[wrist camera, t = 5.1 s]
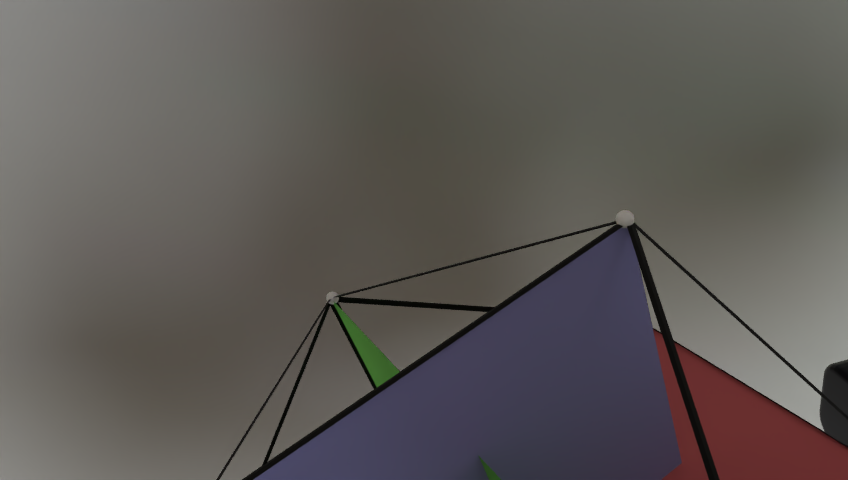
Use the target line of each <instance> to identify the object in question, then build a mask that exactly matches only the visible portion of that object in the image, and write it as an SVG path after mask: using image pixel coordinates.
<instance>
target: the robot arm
mask: <svg viewBox="0 0 848 480" xmlns="http://www.w3.org/2000/svg"><path fill="white" fill-rule="evenodd" d="M822 393H823V394H824V395H825V396H826V397H827V398H828V399H829V400H830V401H832V402H833V403H834V404H835V405H836V406H837V407H838V408H839V409H840V410H841V411H843V412H844V413H845V414H846V415H847V416H848V360H844V361H840V362H837V363H833V364H831V365H829V366H828V367H827V368H826V370H825V372H824V378H823V387H822ZM820 420H821V423H822V426H823V429H824V431H825V433H827V434H829V435H830V436H832V437H833V438H835V439H837V440H838V441H840V442H842V443H843V444H845V445H847V446H848V420H847V419H846V418H845V417H844V416H843V415H842V414H841V413H839V412H838V411H837V410H836V409H835V408H834V407H833V406H832V405H831V404H830V403H828V402H827V401H826V400H825V399H824V398H823V397H822V396H821V404H820Z"/></svg>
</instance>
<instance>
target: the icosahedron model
mask: <svg viewBox="0 0 848 480" xmlns="http://www.w3.org/2000/svg"><path fill="white" fill-rule="evenodd" d="M634 220H635V219H634V215H633V213H632V212H630V211H628V210H622V211H620V212H619V213H618V214H617V215H616V221H615V222H611V223H607V224H603V225H600V226H596V227H592V228H588V229H585V230H581V231H577V232H574V233H570V234H566V235H562V236H559V237H555V238H551V239H547V240H544V241H540V242H536V243H532V244H529V245H525V246H521V247H517V248H514V249H510V250H506V251H502V252H499V253H495V254H491V255H487V256H484V257H480V258H476V259H472V260H469V261H465V262H461V263H457V264H454V265H450V266H446V267H442V268H439V269H435V270H431V271H428V272H424V273H420V274H416V275H413V276H409V277H405V278H401V279H398V280H394V281H390V282H386V283H383V284H379V285H375V286H371V287H368V288H364V289H360V290H356V291H353V292H349V293H345V294H341V295H338V294H337V293H336V292H330V293H328V294H327V296H326V300H327V303H326V305H325V307H324V308H323V310H322V311H321V313H320V315H319V316H318V318H317V319H316V321H315V323H314V324H313V326H312V327H311V329H310V331H309V332H308V334H307V335H306V337H305V339H304V340H303V342H302V343H301V345H300V347H299V348H298V350H297V351H296V353H295V355H294V356H293V358H292V359H291V361H290V363H289V364H288V366H287V367H286V369H285V371H284V372H283V374H282V375H281V377H280V379H279V380H278V382H277V383H276V385H275V387H274V388H273V390H272V391H271V393H270V395H269V396H268V398H267V399H266V401H265V403H264V404H263V406H262V407H261V409H260V411H259V412H258V414H257V415H256V417H255V419H254V420H253V422H252V423H251V425H250V427H249V428H248V430H247V431H246V433H245V435H244V436H243V438H242V439H241V441H240V443H239V444H238V446H237V447H236V449H235V451H234V452H233V454H232V455H231V457H230V459H229V460H228V462H227V463H226V465H225V467H224V468H223V470H222V471H221V473H220V475H219V476H218V478H217V479H216V480H219V479H220V478H221V476H222V474H223V473H224V471H225V470H226V468H227V466H228V465H229V463H230V461H231V460H232V458H233V457H234V455H235V453H236V452H237V450H238V449H239V447H240V445H241V444H242V442H243V440H244V439H245V437H246V436H247V434H248V432H249V431H250V429H251V428H252V426H253V424H254V423H255V421H256V419H257V418H258V416H259V415H260V413H261V411H262V410H263V408H264V407H265V405H266V403H267V402H268V400H269V398H270V397H271V395H272V394H273V392H274V390H275V389H276V387H277V386H278V384H279V382H280V381H281V379H282V377H283V376H284V374H285V373H286V371H287V369H288V368H289V366H290V365H291V363H292V361H293V360H294V358H295V356H296V355H297V353H298V352H299V350H300V348H301V347H302V345H303V344H304V342H305V340H306V339H307V337H308V335H309V334H310V332H311V331H312V329H313V327H314V326H315V324H316V323H317V321H318V319H319V318H320V316H321V314H322V313H323V311H324V310H325V311H324V313H323V316H322V318H321V321H320V323H319V326H318V328H317V331H316V333H315V336H314V338H313V341H312V343H311V346H310V348H309V350H308V353H307V355H306V358H305V360H304V363H303V365H302V368H301V370H300V373H299V375H298V378H297V380H296V383H295V385H294V388H293V390H292V393H291V395H290V398H289V400H288V403H287V405H286V408H285V410H284V413H283V415H282V418H281V420H280V422H279V425H278V427H277V430H276V432H275V435H274V437H273V440H272V442H271V445H270V447H269V450H268V452H267V455H266V457H265V460H264V462H263V465H262V466H261V467H260V468H258V469H257V470H255V471H254V472H252V473H251V474H249V475H248V476H246V477H245V478H244V479H242V480H848V446H847V445H845V444H843V443H842V442H840V441H838V440H837V439H835V438H833V437H832V436H830V435H829V434H827V433H825V432H824V431H822V430H820V429H819V428H817V427H815V426H814V425H812V424H810V423H809V422H807V421H805V420H804V419H802V418H801V417H799V416H797V415H796V414H794V413H792V412H791V411H789V410H787V409H786V408H784V407H782V406H781V405H779V404H778V403H776V402H774V401H773V400H771V399H769V398H768V397H766V396H764V395H763V394H761V393H759V392H758V391H756V390H754V389H753V388H751V387H750V386H748V385H746V384H745V383H743V382H741V381H740V380H738V379H736V378H735V377H733V376H731V375H730V374H728V373H727V372H725V371H723V370H722V369H720V368H718V367H717V366H715V365H713V364H712V363H710V362H708V361H707V360H705V359H703V358H702V357H700V356H699V355H697V354H695V353H694V352H692V351H690V350H689V349H687V348H685V347H684V346H682V345H680V344H679V343H677V342H675V341H674V340H673V338H672V335H671V332H670V329H669V326H668V323H667V320H666V317H665V314H664V311H663V308H662V305H661V302H660V299H659V296H658V293H657V290H656V287H655V284H654V281H653V278H652V275H651V272H650V269H649V266H648V263H647V260H646V257H645V254H644V251H643V248H642V245H641V242H640V239H639V236H638V233H637V230H638V231H640V232H641V233H642V234H643V235H644V236H645V237H646V238H647V239H648V240H649V241H651V242H652V243H653V244H654V245H655V246H656V247H657V248H658V249H659V250H660V251H662V252H663V253H664V254H665V255H666V256H667V257H668V258H669V259H670V260H672V261H673V262H674V263H675V264H676V265H677V266H678V267H679V268H680V269H681V270H683V271H684V272H685V273H686V274H687V275H688V276H689V277H690V278H691V279H693V280H694V281H695V282H696V283H697V284H698V285H699V286H700V287H701V288H702V289H704V290H705V291H706V292H707V293H708V294H709V295H710V296H711V297H712V298H714V299H715V300H716V301H717V302H718V303H719V304H720V305H721V306H722V307H723V308H725V309H726V310H727V311H728V312H729V313H730V314H731V315H732V316H733V317H735V318H736V319H737V320H738V321H739V322H740V323H741V324H742V325H743V326H744V327H746V328H747V329H748V330H749V331H750V332H751V333H752V334H753V335H754V336H756V337H757V338H758V339H759V340H760V341H761V342H762V343H763V344H764V345H765V346H767V347H768V348H769V349H770V350H771V351H772V352H773V353H774V354H775V355H776V356H778V357H779V358H780V359H781V360H782V361H783V362H784V363H785V364H786V365H788V366H789V367H790V368H791V369H792V370H793V371H794V372H795V373H796V374H797V375H799V376H800V377H801V378H802V379H803V380H804V381H805V382H806V383H807V384H809V385H810V386H811V387H812V388H813V389H814V390H815V391H816V392H817V393H818V394H820V395H821V396H822V397H823V398H824V399H825V400H826V401H827V402H828V403H830V404H831V405H832V406H833V407H834V408H835V409H836V410H837V411H838V412H839V413H841V414H842V415H843V416H844V417H845V418H846V419H847V420H848V416H847V415H846V414H845V413H844V412H843V411H841V410H840V409H839V408H838V407H837V406H836V405H835V404H834V403H833V402H832V401H830V400H829V399H828V398H827V397H826V396H825V395H824V394H823V393H822V392H821V391H819V390H818V389H817V388H816V387H815V386H814V385H813V384H812V383H811V382H809V381H808V380H807V379H806V378H805V377H804V376H803V375H802V374H801V373H800V372H798V371H797V370H796V369H795V368H794V367H793V366H792V365H791V364H790V363H789V362H787V361H786V360H785V359H784V358H783V357H782V356H781V355H780V354H779V353H777V352H776V351H775V350H774V349H773V348H772V347H771V346H770V345H769V344H768V343H766V342H765V341H764V340H763V339H762V338H761V337H760V336H759V335H758V334H757V333H755V332H754V331H753V330H752V329H751V328H750V327H749V326H748V325H747V324H745V323H744V322H743V321H742V320H741V319H740V318H739V317H738V316H737V315H736V314H734V313H733V312H732V311H731V310H730V309H729V308H728V307H727V306H726V305H724V304H723V303H722V302H721V301H720V300H719V299H718V298H717V297H716V296H715V295H713V294H712V293H711V292H710V291H709V290H708V289H707V288H706V287H705V286H704V285H702V284H701V283H700V282H699V281H698V280H697V279H696V278H695V277H694V276H692V275H691V274H690V273H689V272H688V271H687V270H686V269H685V268H684V267H683V266H681V265H680V264H679V263H678V262H677V261H676V260H675V259H674V258H673V257H672V256H670V255H669V254H668V253H667V252H666V251H665V250H664V249H663V248H662V247H660V246H659V245H658V244H657V243H656V242H655V241H654V240H653V239H652V238H651V237H649V236H648V235H647V234H646V233H645V232H644V231H643V230H642V229H641V228H640V227H638V226H637V225H636V224H635V223H634ZM613 224H616V225H615V226H613V227H612V228H610V229H609V230H607V231H606V232H604V233H603V234H602V235H600V236H599V237H597V238H596V239H594V240H593V241H591V242H590V243H588V244H587V245H585V246H584V247H582V248H581V249H580V250H578V251H577V252H575V253H574V254H572V255H571V256H569V257H568V258H566V259H565V260H563V261H562V262H560V263H559V264H557V265H556V266H555V267H553V268H552V269H550V270H549V271H547V272H546V273H544V274H543V275H541V276H540V277H538V278H537V279H535V280H534V281H533V282H531V283H530V284H528V285H527V286H525V287H524V288H522V289H521V290H519V291H518V292H516V293H515V294H513V295H512V296H511V297H509V298H508V299H506V300H505V301H503V302H502V303H500V304H499V305H497V306H496V307H483V306H468V305H453V304H438V303H423V302H408V301H393V300H378V299H363V298H348V297H341V296H345V295H349V294H352V293H356V292H360V291H364V290H367V289H371V288H375V287H379V286H383V285H386V284H390V283H394V282H398V281H401V280H405V279H409V278H413V277H417V276H420V275H424V274H428V273H432V272H435V271H439V270H443V269H447V268H451V267H454V266H458V265H462V264H466V263H470V262H473V261H477V260H481V259H485V258H488V257H492V256H496V255H500V254H504V253H507V252H511V251H515V250H519V249H522V248H526V247H530V246H534V245H538V244H541V243H545V242H549V241H553V240H556V239H560V238H564V237H568V236H572V235H575V234H579V233H583V232H587V231H591V230H594V229H598V228H602V227H606V226H609V225H613ZM636 229H637V230H636ZM638 262H639V263H638ZM639 265H640V267H639ZM640 268H641V271H642V274H643V278H644V281H645V284H646V287H647V290H648V293H649V296H650V299H651V302H652V305H653V308H654V312H655V315H656V318H657V321H658V324H659V327H660V330H661V332H659V331H657V330H656V329H654V328H653V327H652V323H651V318H650V313H649V309H648V304H647V300H646V295H645V290H644V286H643V281H642V277H641V272H640ZM338 302H343V303H359V304H374V305H390V306H405V307H420V308H436V309H451V310H467V311H482V312H487V313H486V314H484V315H483V316H481V317H480V318H478V319H477V320H475V321H474V322H472V323H471V324H469V325H468V326H467V327H465V328H464V329H462V330H461V331H459V332H458V333H456V334H455V335H453V336H452V337H450V338H449V339H447V340H446V341H445V342H443V343H442V344H440V345H439V346H437V347H436V348H434V349H433V350H431V351H430V352H428V353H427V354H425V355H424V356H423V357H421V358H420V359H418V360H417V361H415V362H414V363H412V364H411V365H409V366H408V367H406V368H405V369H403V370H402V371H401V372H400V371H399V370H398V369H397V368H396V367H395V366H394V365H393V364H392V363H391V362H390V361H389V360H388V358H387V357H386V356H385V355H384V354H383V353H382V352H381V351H380V350H379V349H378V348H377V347H376V346H375V345H374V344H373V343H372V341H371V340H370V339H369V338H368V337H367V336H366V335H365V334H364V333H363V332H362V331H361V330H360V329H359V328H358V327H357V325H356V324H355V323H354V322H353V321H352V320H351V319H350V318H349V317H348V316H347V315H346V314H345V313H344V312H343V311H342V309H341V307H340V305H339V303H338ZM330 306H331V308H332V310H333V312H334V313H335V315H336V317H337V319H338V321H339V323H340V325H341V327H342V329H343V331H344V333H345V335H346V336H347V338H348V340H349V342H350V344H351V346H352V348H353V350H354V352H355V354H356V356H357V358H358V359H359V361H360V363H361V365H362V367H363V369H364V371H365V373H366V375H367V377H368V379H369V381H370V382H371V384H372V386H373V388H374V390H373V391H371V392H370V393H368V394H367V395H365V396H364V397H362V398H361V399H359V400H358V401H356V402H355V403H354V404H352V405H351V406H349V407H348V408H346V409H345V410H343V411H342V412H340V413H339V414H337V415H336V416H334V417H333V418H332V419H330V420H329V421H327V422H326V423H324V424H323V425H321V426H320V427H318V428H317V429H315V430H314V431H312V432H311V433H310V434H308V435H307V436H305V437H304V438H302V439H301V440H299V441H298V442H296V443H295V444H293V445H292V446H290V447H289V448H288V449H286V450H285V451H283V452H282V453H280V454H279V455H277V456H276V457H274V458H273V459H271V460H270V461H268V459H269V457H270V454H271V452H272V449H273V447H274V444H275V442H276V439H277V437H278V434H279V432H280V429H281V427H282V424H283V422H284V419H285V417H286V414H287V412H288V409H289V407H290V404H291V402H292V399H293V397H294V394H295V392H296V389H297V387H298V384H299V382H300V379H301V377H302V374H303V372H304V369H305V367H306V364H307V362H308V359H309V357H310V355H311V352H312V350H313V347H314V345H315V342H316V340H317V337H318V335H319V332H320V330H321V327H322V325H323V322H324V320H325V317H326V315H327V312H328V310H329V307H330Z"/></svg>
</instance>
